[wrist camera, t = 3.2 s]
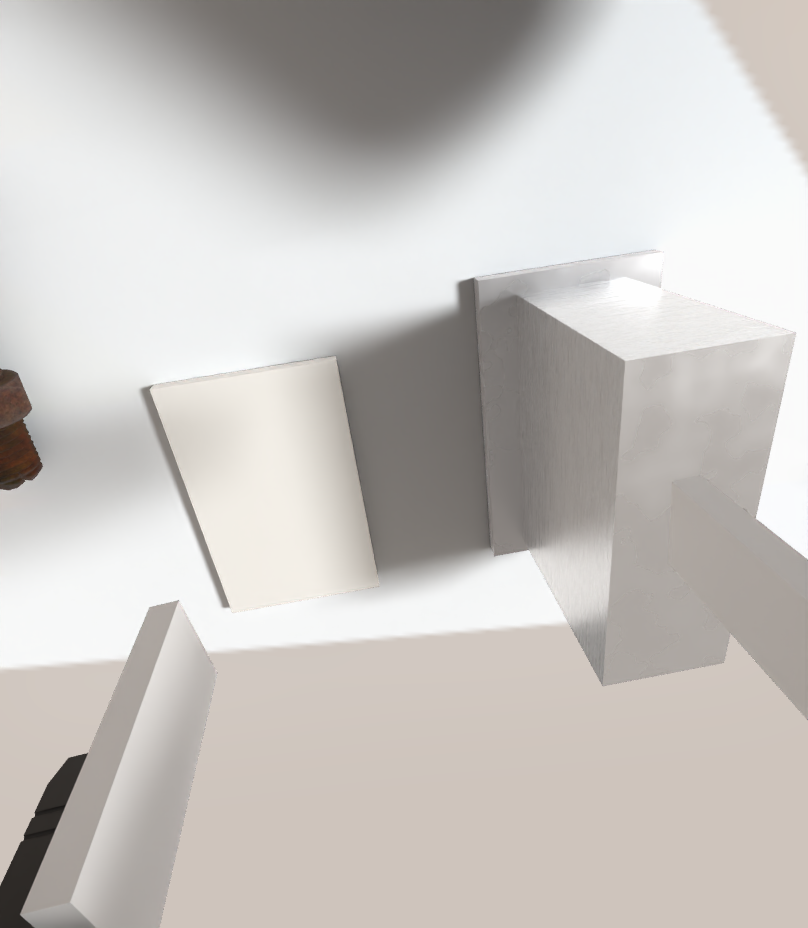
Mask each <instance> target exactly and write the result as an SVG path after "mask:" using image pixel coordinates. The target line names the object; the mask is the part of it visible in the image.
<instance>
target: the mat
mask: <svg viewBox="0 0 808 928" xmlns="http://www.w3.org/2000/svg"><path fill="white" fill-rule="evenodd" d="M150 392H151V395H152V398H153V400H154V403H155V406H156V409H157V411H158V414H159V417H160V419H161V422H162V425H163V427H164V430H165V433H166V436H167V438H168V441H169V444H170V446H171V449H172V452H173V454H174V457H175V460H176V463H177V465H178V468H179V471H180V473H181V476H182V479H183V481H184V484H185V487H186V489H187V492H188V495H189V498H190V500H191V503H192V506H193V508H194V511H195V514H196V516H197V519H198V522H199V525H200V527H201V530H202V533H203V535H204V538H205V541H206V543H207V546H208V549H209V552H210V554H211V557H212V560H213V562H214V565H215V568H216V570H217V573H218V576H219V578H220V581H221V584H222V587H223V589H224V592H225V595H226V597H227V600H228V603H229V605H230V608H231V611H232V613H236V612H242V611H247V610H253V609H258V608H264V607H269V606H275V605H280V604H286V603H291V602H297V601H302V600H308V599H313V598H319V597H325V596H330V595H336V594H341V593H347V592H352V591H358V590H363V589H369V588H374V587H379V579H378V574H377V569H376V563H375V558H374V553H373V548H372V542H371V537H370V532H369V527H368V522H367V516H366V511H365V506H364V501H363V495H362V490H361V485H360V480H359V475H358V469H357V464H356V459H355V454H354V448H353V443H352V438H351V433H350V428H349V422H348V417H347V412H346V407H345V401H344V396H343V391H342V386H341V381H340V375H339V370H338V365H337V360H336V356H331V357H324V358H318V359H312V360H306V361H299V362H293V363H287V364H281V365H274V366H268V367H262V368H255V369H249V370H243V371H237V372H230V373H224V374H218V375H212V376H205V377H199V378H193V379H187V380H180V381H174V382H168V383H162V384H155V385H153V386H152V387H151V389H150Z"/></svg>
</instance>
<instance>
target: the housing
mask: <svg viewBox="0 0 808 928" xmlns="http://www.w3.org/2000/svg"><path fill="white" fill-rule="evenodd" d="M663 257H664V252H662V251H657V250H650V251H643V252H637V253H630V254H624V255H617V256H611V257H604V258H598V259H591V260H585V261H579V262H572V263H566V264H559V265H553V266H546V267H540V268H533V269H527V270H520V271H514V272H507V273H501V274H494V275H488V276H482V277H475V278H474V290H475V306H476V322H477V338H478V354H479V370H480V386H481V402H482V418H483V434H484V449H485V465H486V481H487V497H488V513H489V529H490V545H491V549H492V551H493V554H494V556H498V555H503V554H509V553H514V552H520V551H525V550H529V551H530V553H531V555H532V556H533V558H534V560H535V562H536V564H537V566H538V568H539V569H540V571H541V573H542V575H543V577H544V579H545V580H546V582H547V584H548V586H549V588H550V590H551V592H552V593H553V595H554V597H555V599H556V601H557V603H558V605H559V606H560V608H561V610H562V612H563V614H564V616H565V618H566V619H567V621H568V623H569V625H570V627H571V629H572V630H573V632H574V634H575V636H576V638H577V640H578V642H579V643H580V645H581V647H582V649H583V651H584V653H585V654H586V656H587V658H588V660H589V662H590V664H591V666H592V667H593V669H594V671H595V673H596V675H597V677H598V679H599V681H600V682H601V684H602V686H606V685H612V684H617V683H622V682H627V681H632V680H638V679H642V678H648V677H653V676H658V675H664V674H669V673H674V672H679V671H684V670H689V669H695V668H699V667H705V666H710V665H715V664H720V663H724V660H725V656H726V651H727V647H728V642H729V637H730V632H729V631H728V630H727V629H726V628H725V626H724V625H723V624H722V623H721V622H720V621H719V620H718V619H717V617H716V616H715V615H714V614H713V613H712V612H711V611H710V610H709V608H708V607H707V606H706V605H705V604H704V603H703V602H702V601H701V599H700V598H699V597H698V596H697V595H696V594H695V593H694V592H693V590H692V589H691V588H690V587H689V586H688V585H687V584H686V583H685V581H684V580H683V579H682V578H681V577H680V576H679V575H678V573H677V572H676V571H675V570H674V569H673V568H672V567H671V566H670V564H669V543H670V519H671V496H672V482H673V481H677V480H682V479H686V478H690V477H694V476H698V475H701V476H702V477H704V478H705V479H706V480H708V481H709V482H710V483H711V484H713V485H714V486H715V487H716V488H718V489H719V490H720V491H721V492H723V493H724V494H725V495H726V496H728V497H729V498H730V499H732V500H733V501H734V502H735V503H737V504H738V505H739V506H740V507H742V508H743V509H744V510H745V511H747V512H748V513H749V514H750V515H752V516H753V517H754V518H756V514H757V509H758V505H759V500H760V496H761V491H762V487H763V482H764V477H765V473H766V468H767V464H768V459H769V455H770V450H771V445H772V441H773V436H774V432H775V427H776V423H777V418H778V413H779V409H780V404H781V400H782V395H783V391H784V386H785V381H786V377H787V372H788V368H789V363H790V359H791V354H792V349H793V345H794V340H795V336H796V333H795V332H792V331H789V330H786V329H783V328H780V327H777V326H774V325H771V324H768V323H764V322H761V321H758V320H755V319H752V318H749V317H746V316H743V315H740V314H737V313H734V312H731V311H728V310H725V309H722V308H718V307H715V306H712V305H709V304H706V303H703V302H700V301H697V300H694V299H691V298H688V297H685V296H682V295H679V294H676V293H672V292H669V291H666V290H663V289H660V288H661V278H662V267H663Z"/></svg>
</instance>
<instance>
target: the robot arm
mask: <svg viewBox="0 0 808 928" xmlns="http://www.w3.org/2000/svg"><path fill="white" fill-rule="evenodd" d="M669 564H670V566H671V567H672V568H673V569H674V570H675V571H676V572H677V573H678V575H679V576H680V577H681V578H682V579H683V580H684V581H685V583H686V584H687V585H688V586H689V587H690V588H691V589H692V590H693V592H694V593H695V594H696V595H697V596H698V597H699V598H700V599H701V601H702V602H703V603H704V604H705V605H706V606H707V607H708V608H709V610H710V611H711V612H712V613H713V614H714V615H715V616H716V617H717V619H718V620H719V621H720V622H721V623H722V624H723V625H724V626H725V628H726V629H727V630H728V631H729V632H730V633H731V634H732V635H733V637H734V638H735V639H736V640H737V641H738V642H739V643H740V644H741V646H742V647H743V648H744V649H745V650H746V651H747V652H748V653H749V655H751V657H752V658H753V659H754V660H755V661H756V663H757V664H758V665H759V666H760V667H761V668H762V669H763V670H764V672H765V673H766V674H767V675H768V676H769V677H770V678H771V679H772V681H773V682H774V683H775V684H776V685H777V686H778V687H779V688H780V690H781V691H782V692H783V693H784V694H785V695H786V696H787V697H788V699H789V700H790V701H791V702H792V703H793V704H794V705H795V706H796V708H797V709H798V710H799V711H800V712H801V713H802V714H803V715H804V716H805V718H806V719H807V720H808V560H807V559H806V558H805V557H804V556H802V555H801V554H800V553H799V552H797V551H796V550H795V549H793V548H792V547H791V546H790V545H788V544H787V543H786V542H785V541H783V540H782V539H781V538H780V537H778V536H777V535H776V534H775V533H773V532H772V531H771V530H769V529H768V528H767V527H766V526H764V525H763V524H762V523H761V522H759V521H758V520H757V519H756V518H754V517H753V516H752V515H750V514H749V513H748V512H747V511H745V510H744V509H743V508H742V507H740V506H739V505H738V504H737V503H735V502H734V501H733V500H732V499H730V498H729V497H728V496H726V495H725V494H724V493H723V492H721V491H720V490H719V489H718V488H716V487H715V486H714V485H713V484H711V483H710V482H709V481H708V480H706V479H705V478H704V477H702V476H701V475H698V476H694V477H690V478H686V479H682V480H677V481H673V482H672V496H671V519H670V543H669ZM216 677H217V671H216V669H215V667H214V666H213V664H212V662H211V660H210V658H209V656H208V654H207V652H206V650H205V648H204V647H203V645H202V643H201V641H200V639H199V637H198V635H197V633H196V632H195V630H194V628H193V626H192V624H191V622H190V620H189V619H188V617H187V615H186V613H185V611H184V609H183V607H182V605H181V604H180V602H179V600H178V601H174V602H170V603H166V604H161V605H157V606H153V607H150V608H149V610H148V612H147V615H146V617H145V619H144V622H143V624H142V627H141V629H140V631H139V634H138V636H137V638H136V641H135V643H134V646H133V648H132V650H131V653H130V655H129V657H128V660H127V662H126V665H125V667H124V669H123V672H122V674H121V676H120V679H119V681H118V684H117V686H116V688H115V691H114V693H113V695H112V698H111V700H110V703H109V705H108V707H107V710H106V712H105V714H104V717H103V719H102V721H101V724H100V726H99V729H98V731H97V733H96V736H95V738H94V740H93V743H92V745H91V747H90V750H89V752H88V753H87V754H83V755H78V756H74V757H70V758H68V759H67V761H66V762H65V763H64V764H63V766H62V767H61V768H60V770H59V771H58V772H57V773H56V775H55V776H54V777H53V778H52V780H51V781H50V782H49V784H48V785H47V787H46V789H45V791H44V794H43V796H42V798H41V800H40V802H39V804H38V806H37V809H36V811H35V817H34V818H32V819H31V821H30V823H29V826H28V828H27V830H26V832H25V834H24V841H22V842H21V843H20V845H19V847H18V850H17V851H16V853H15V856H14V858H13V860H12V862H11V864H10V866H9V869H8V870H7V873H6V875H5V877H4V879H3V881H2V883H1V886H0V928H159V927H160V923H161V919H162V914H163V910H164V905H165V901H166V896H167V892H168V888H169V884H170V879H171V875H172V870H173V866H174V862H175V857H176V853H177V848H178V844H179V839H180V835H181V831H182V826H183V822H184V818H185V813H186V809H187V804H188V800H189V796H190V791H191V787H192V783H193V778H194V773H195V769H196V765H197V760H198V756H199V752H200V747H201V743H202V739H203V734H204V730H205V725H206V721H207V717H208V712H209V708H210V703H211V699H212V695H213V690H214V686H215V681H216Z"/></svg>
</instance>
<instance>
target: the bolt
mask: <svg viewBox="0 0 808 928" xmlns="http://www.w3.org/2000/svg"><path fill="white" fill-rule="evenodd" d="M31 409H32V407H31V404H30V402H29V399H28V397H27V395H26V392H25V390H24V387H23V385H22V383H21V380H20V378H19V375H18V373H16V372H14V371H11V370H2V369H0V489H3V490H11V489H15V488H18V487H19V486H20V485H22V484H23V483H24V482H25V480H33V479H34V478H35V477H36V476H37V475H38V473H39V472H40V470H41V469H42V467H43V465H42V463H41V462H40V457H39V456H38V452H37V451H36V448H35V446H34V445H33V441H32V440H31V436H30V435H29V434H28V433H29V432H28V430H27V429H26V424H24V423H23V421H24V420H23V419H22V418H24V417H25V416H27V415H28V413H29V412H30V411H31Z"/></svg>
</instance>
